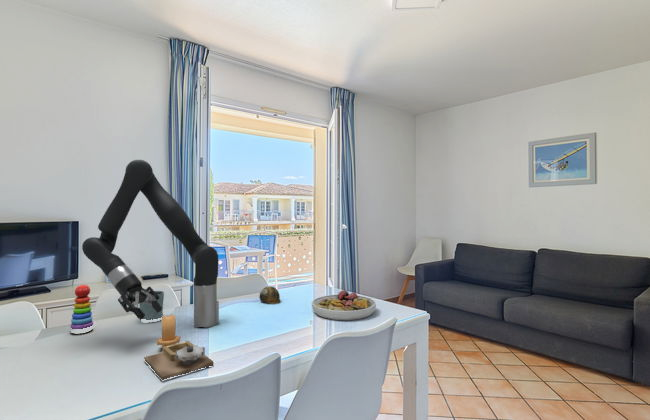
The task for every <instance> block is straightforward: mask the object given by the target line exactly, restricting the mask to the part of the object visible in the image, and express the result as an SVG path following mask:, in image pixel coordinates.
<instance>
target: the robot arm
mask: <svg viewBox="0 0 650 420" xmlns="http://www.w3.org/2000/svg"><path fill="white" fill-rule="evenodd" d="M140 192H141V193H142V195H144V197H145V198H146V199H147V201H148V203H149V204H150V205H151V207H152V209H153V211H154V212H155V214H156V216H157V217H158V219H159V220H161V221H160V222H162V223H163V225H164V226H165V227H166V228H167V229H168V230H169V232H170V233H171V234H172V235H173V236H174V237H175V238H176V239H177V240H178V241H179V242H180V243H181V245H182V246H183V247H184V248H185V250H186V252H187V253H188V254H189V257H190V259H191V260H192V261H193V263H194V264H195V270H194V272H195V273H194V278H193V327H194V326H196V327H195V328H197V327H208V328H212V327H215V326H216V325H219V324H220V320H219V319H220V316H219V315H220V307H219V305H220V304H219V300H218V299H217V298H218V297H217V296H218V293H217V292H218V290H217V289H218V287H217V286H218V285H217V284H218V283H217V282H218V277H219V254H218V251H217V250H216V249H215V248H214V247H212V246H209V244H207V243H206V241H204V240H203V239H202V238H201V236H200V235H199V234H198V232H197V231H196V229H195V226H194V225H193V222H192V221H191V219H190V217H189V215H188V214H187V212H186V211H185V210H184V209H183V208H182V206H181V205H180V203H178V201H177V200H176V198H174V197H173V196H172V195H171V194H170V193H169V192H168V191H167V190H166V189H165V188H164V187H163V186H162V185H161V183H160V181H159V180H158V178H157V177H156V175H155V174H154V172H153V168H152V165H151V164H150V163H149V162H148V161H146V160H144V159H134V160H132V161H130V162H129V163H128V164H127V165H126V167H125V173H124V176H123V180H122V181H121V184H120V186H119V189H118V190H117V193H116V194H115V196H114V198H113V200H112V201H111V202H110V204H109V206H108V207H107V208H106V211H105V212H104V214H103V216H102V217H101V219H100V221H99V223H98V226H97V229H98V230H99V231H100V232H101V233H100V236H99V237H94V236H93V237H92V236H91V237H88V238H86V239H85V240H84V241H83V242H82V246H81V247H82V248H81V249H82V252H83V255H85V256H86V258H88V260H90V261H91V263H93V264H94V265H95V266H97V267H99V268H100V270H101V271H102V272H103V274H104V275H105V276H106V277H107V278H108V280H109V282H110V284H111V285H112V286H113V287H114V289H115V290H116V291H117V292H118V294H119V295H120V297H118V299H117V302H118V303H119V304H120V305H121V307H122V309H123V310H124V311H125V312H126V313H129V312H131V313H133V314H134V315H135V317H136V318H138V319H139V320H140V321H141V319H143V318H144V317H145V314H144V313H143V311H142V310H141V309H140V307H139V303H142V302H144V303H149V304H151V305H152V307H153V308H154V309H155V310H156V312H157V313H159V312H160V311H161V310H162V307H161V306H160V304H159V303H158V302H157V300H158V299H159V298H160V297H159V296H158V295H157V294H156V293H155V291H156V290H154V289H153V287H151V286H148V287H147V288H143V284H142V281H141V280H140V279H139V278H138V276H137V275H136V274H135V273H134V272H133V270H132V269H131V268H130V267H129V266H128V265H127V264H126V263H125V262H124V260H123V259H122V258H121V257H120V256H119V255H117V254H115V253H113V251H114V249H115V248H116V244H117V240H118V235H119V231H121V228H122V226H123V224H124V223H125V221H126V219H127V217H128V215H129V212H130V210H131V208H132V206H133V204H134V201H135V200H136V198H137V197H138V195H139V193H140ZM153 296H155V298H154V297H153ZM147 297H148V298H147ZM146 298H147V299H146ZM150 299H151V300H152V301H150ZM211 326H212V327H211Z"/></svg>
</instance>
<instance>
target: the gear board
mask: <svg viewBox="0 0 650 420" xmlns="http://www.w3.org/2000/svg"><path fill="white" fill-rule="evenodd" d="M161 351H162V352H159V353H155V354H150V355H147V356H144V357H143V360H144V359H145V361H146V362H147V363H148V364H149V365H150V366H151V368H152V369H153V370H154V371H155V373H156V374H157V375H158V376H159V377H160V378H161V379H162V380H164V379H167V378H170V377H174V376H178V375H182V374H186V373H189V372H191V371H195V370H198V369H201V368H205V367H209V366H213V367H214V360H212V359H211V358H210V357H208V356H207V355H205V352H206V350H205V347H204V346H199V345H194V344H193V343H192V342H191V341H189V340H186V341H182V342H181V341H180V342H179V343H176V344H173V345H169V346H165V347H162V346H161Z"/></svg>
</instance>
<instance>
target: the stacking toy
mask: <svg viewBox="0 0 650 420" xmlns="http://www.w3.org/2000/svg"><path fill="white" fill-rule="evenodd" d="M90 293H91V288H90V286H89V285H87V284H80V285H78V286H77V287H75V290H74V294H75V296H76V297H75V298H74V302H75V303H74V305H73V307H74V308H73V309H72V311H73V313H72V314H71V321H70V322H71V323H70V329H71V328H72V329H83V328H87V327H90V326H92V325H93V326H94V321H93V316H92V315H93V312H92V306H91V305H92V303H91V301H90V300H91V297H90V296H89V295H90Z"/></svg>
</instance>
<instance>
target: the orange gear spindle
mask: <svg viewBox="0 0 650 420" xmlns="http://www.w3.org/2000/svg"><path fill="white" fill-rule="evenodd" d="M176 326H177V325H176V315H175V314H169V315H163V317H162V320H161V337H160V338H157V341H156V345H157V346H161V348H162V347H165V346H169V345H173V344H177V343H181V336H180V335H176V329H177V327H176Z"/></svg>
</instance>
